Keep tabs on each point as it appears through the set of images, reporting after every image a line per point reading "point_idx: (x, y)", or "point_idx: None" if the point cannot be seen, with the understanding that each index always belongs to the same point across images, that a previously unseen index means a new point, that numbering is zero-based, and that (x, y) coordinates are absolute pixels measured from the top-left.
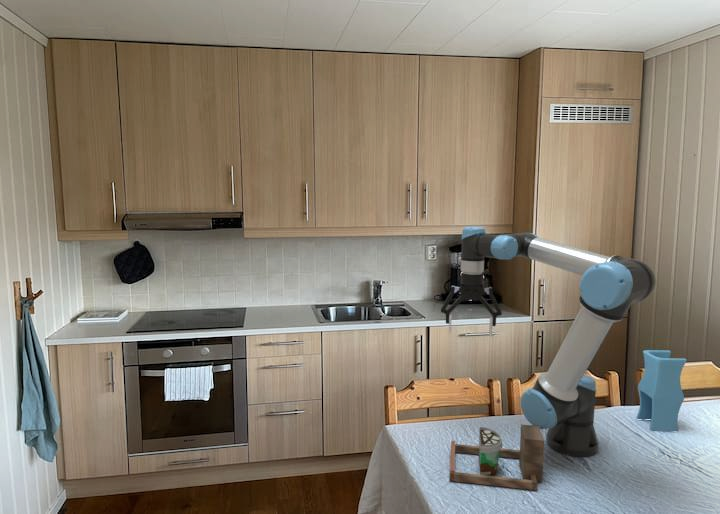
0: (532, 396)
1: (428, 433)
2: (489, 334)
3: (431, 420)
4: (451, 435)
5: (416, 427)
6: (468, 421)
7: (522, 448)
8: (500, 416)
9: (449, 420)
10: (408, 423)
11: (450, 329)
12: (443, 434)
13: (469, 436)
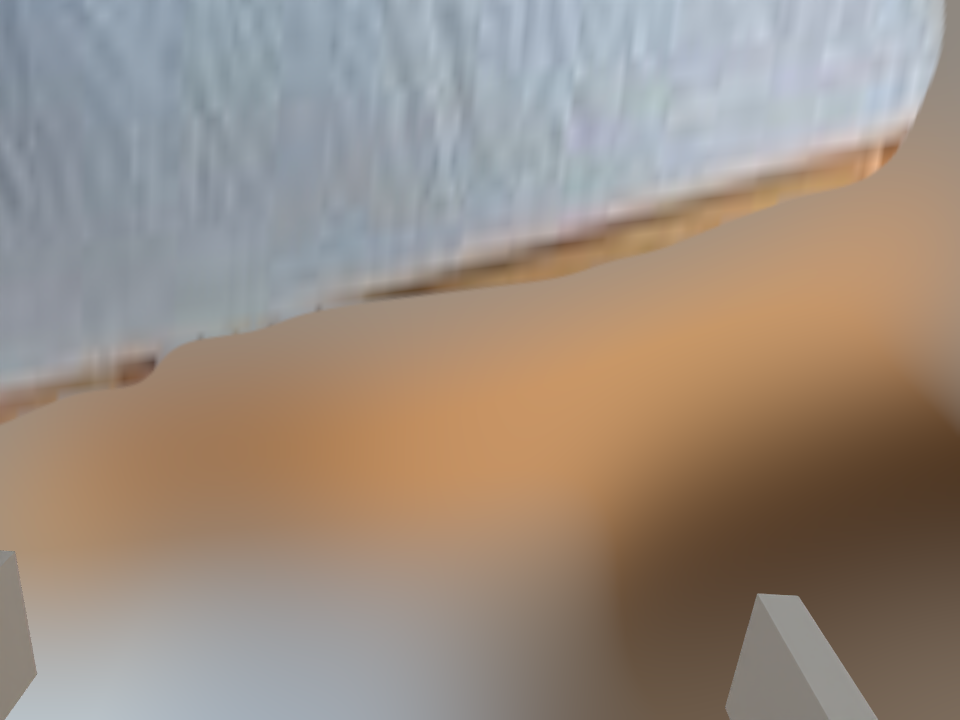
0: None
1: (700, 22)
2: (20, 624)
3: (658, 214)
4: (558, 11)
5: (763, 102)
6: (435, 228)
7: None
8: (240, 320)
9: (548, 228)
10: (804, 154)
11: (807, 660)
12: (607, 19)
13: (446, 10)
